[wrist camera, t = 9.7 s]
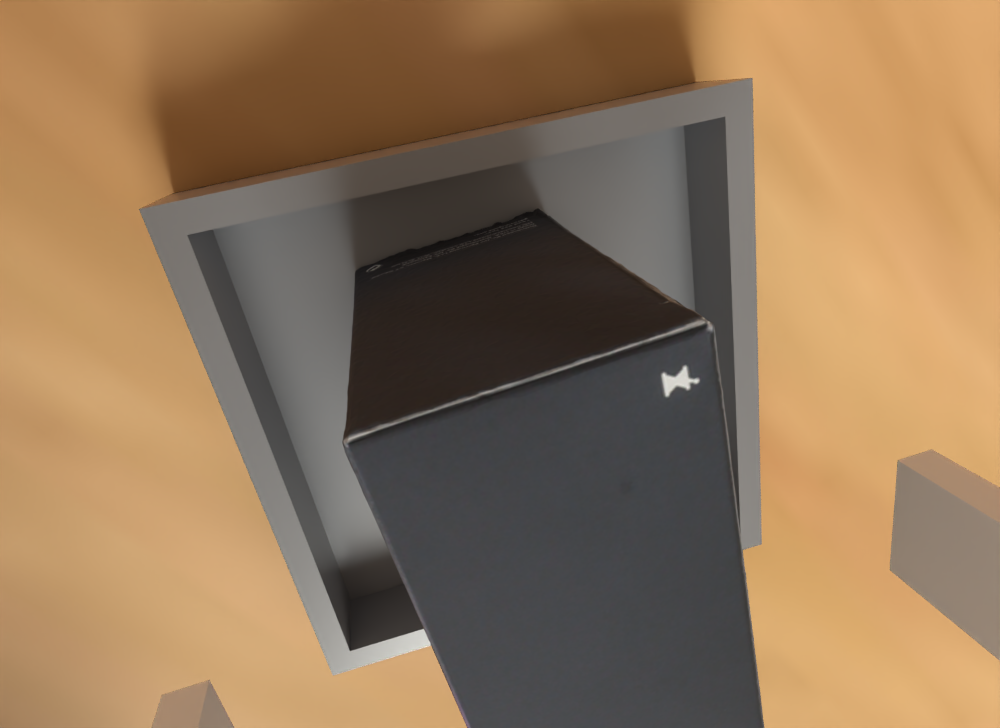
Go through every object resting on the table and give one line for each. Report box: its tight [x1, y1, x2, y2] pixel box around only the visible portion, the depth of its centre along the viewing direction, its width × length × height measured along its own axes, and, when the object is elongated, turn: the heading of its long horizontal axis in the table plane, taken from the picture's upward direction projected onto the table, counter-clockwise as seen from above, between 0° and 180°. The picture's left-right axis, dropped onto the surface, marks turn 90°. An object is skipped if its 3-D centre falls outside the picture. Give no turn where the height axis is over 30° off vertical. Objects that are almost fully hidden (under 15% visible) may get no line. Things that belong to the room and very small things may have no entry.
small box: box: [342, 208, 764, 728], centre depth 16 cm, size 11×6×10 cm, turn 16°
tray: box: [139, 78, 762, 675], centre depth 20 cm, size 16×16×3 cm
